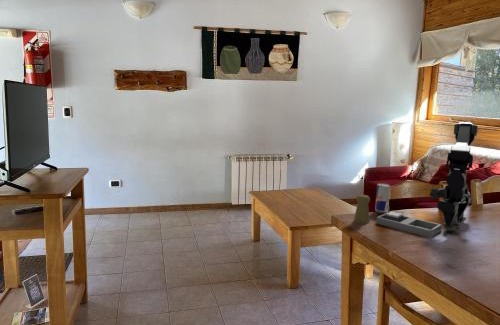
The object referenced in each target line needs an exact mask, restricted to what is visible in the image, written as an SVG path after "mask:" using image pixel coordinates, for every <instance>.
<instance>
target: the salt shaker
mask: <svg viewBox="0 0 500 325" xmlns="http://www.w3.org/2000/svg"><path fill="white" fill-rule="evenodd" d="M457 217H458V212H457V214H456V215H455V217H454V219H453V221H452V223H451V225H450V227H447V226H446V223H445V221H444V222H443V226H444V228H445V230H443V233H444V234H447V235H448V236H453V237H454V236H456V237H457V236H459V235H460V234H459V232H458V231H459V229H461V228H460V227H461V226H462V225H461V223H460V222H459V221H457Z"/></svg>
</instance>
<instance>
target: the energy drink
mask: <svg viewBox="0 0 500 325" xmlns="http://www.w3.org/2000/svg"><path fill="white" fill-rule="evenodd" d="M376 185H377V186H376V194H375V206H374V207H375V209H374V210H375V212H377V213H380V214H385V213H387V212H389V204H390V202H389V201H390V191H391V187H390V186H391V185H390V184H387V183H377V184H376Z"/></svg>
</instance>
